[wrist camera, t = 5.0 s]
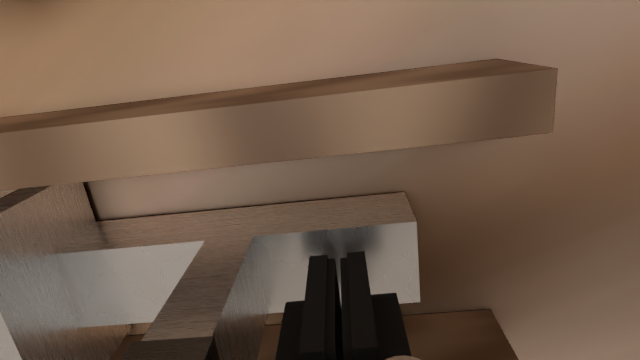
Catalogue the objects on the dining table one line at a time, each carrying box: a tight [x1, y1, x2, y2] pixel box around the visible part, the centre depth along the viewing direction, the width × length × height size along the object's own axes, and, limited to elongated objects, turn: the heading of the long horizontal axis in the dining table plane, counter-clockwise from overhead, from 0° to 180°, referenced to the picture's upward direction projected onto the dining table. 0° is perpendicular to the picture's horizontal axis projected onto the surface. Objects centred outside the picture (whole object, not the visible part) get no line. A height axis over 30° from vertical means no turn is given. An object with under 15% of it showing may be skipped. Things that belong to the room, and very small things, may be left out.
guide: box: [0, 59, 558, 360], centre depth 14 cm, size 28×12×5 cm, turn 97°
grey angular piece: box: [0, 182, 420, 360], centre depth 12 cm, size 13×7×8 cm, turn 97°
